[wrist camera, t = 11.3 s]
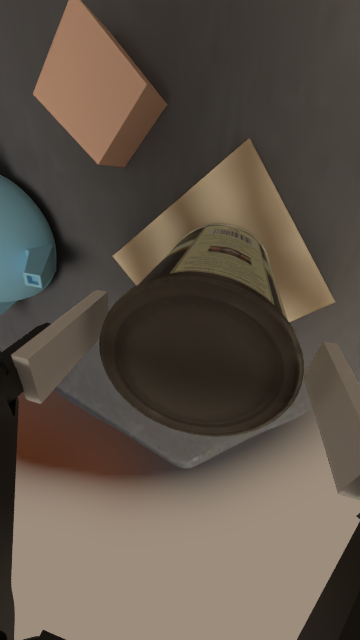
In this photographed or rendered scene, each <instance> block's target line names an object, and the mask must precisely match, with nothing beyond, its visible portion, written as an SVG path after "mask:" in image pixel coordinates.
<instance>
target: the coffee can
mask: <svg viewBox="0 0 360 640" xmlns="http://www.w3.org/2000/svg"><path fill="white" fill-rule="evenodd" d="M99 345H100V355H101V360H102V363H103V366H104V369H105V371H106V373H107V375H108V378H109V379H110V381H111V382H112V384H113V386H114V387H115V388H116V390H117V391H118V392H119V393H120V395H121V396H122V397H123V398H124V399H125V400H126V401H127V402H128V403H129V404H130V405H132V406H133V407H134V408H135V409H137V410H138V411H139V412H141V413H142V414H144V415H145V416H147V417H148V418H150V419H152V420H154V421H156V422H158V423H160V424H162V425H164V426H167V427H169V428H172V429H175V430H178V431H181V432H185V433H189V434H194V435H202V436H217V437H219V436H232V435H239V434H244V433H248V432H251V431H254V430H257V429H260V428H262V427H264V426H266V425H268V424H269V423H271V422H273V421H275V420H276V419H277V418H279V417H280V416H281V415H282V414H283V413H284V412H285V411H286V410H287V409H288V408H289V407H290V406H291V404H292V403H293V402H294V400H295V398H296V397H297V395H298V393H299V390H300V388H301V384H302V380H303V373H304V361H303V354H302V351H301V348H300V345H299V342H298V340H297V337H296V335H295V333H294V331H293V329H292V327H291V325H290V323H289V322H288V319H287V316H286V313H285V310H284V307H283V304H282V300H281V297H280V294H279V291H278V288H277V284H276V281H275V278H274V275H273V272H272V269H271V264H270V259H269V256H268V254H267V251H266V249H265V248H264V246H263V245H262V243H261V242H260V241H259V240H258V239H257V238H256V237H255V236H254V235H253V234H252V233H251V232H249V231H247V230H245V229H243V228H241V227H238V226H236V225H232V224H226V223H213V224H207V225H203V226H201V227H198V228H196V229H194V230H192V231H191V232H189V233H188V234H186V235H185V236H184V237H183V238H182V239H181V240H180V241H179V242H178V244H177V245H176V246H175V247H174V248H173V249H172V250H171V251H170V253H169V254H168V255H167V256H166V257H165V258H164V259H163V260H162V261H161V262H160V263H159V264H158V265H157V266H156V267H155V268H154V269H153V270H152V271H151V272H150V273H149V274H148V275H147V276H146V277H145V278H144V279H143V280H142V281H141V282H140V283H139V284H138V285H136V286H135V287H133V288H132V289H131V290H129V291H128V292H127V293H125V294H124V295H123V296H122V297H121V298H120V299H119V300H118V301H117V302H116V303H115V304H114V305H113V307H112V308H111V309H110V311H109V313H108V314H107V316H106V318H105V321H104V323H103V326H102V330H101V334H100V342H99Z"/></svg>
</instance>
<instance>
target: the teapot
mask: <svg viewBox="0 0 360 640" xmlns="http://www.w3.org/2000/svg"><path fill="white" fill-rule="evenodd" d="M56 271H57V270H56V246H55V241H54V237H53V234H52V231H51V228H50V226H49V224H48V222H47V220H46V218H45V217H44V215H43V213H42V212H41V210H40V209H39V208H38V206H37V205H36V204H35V203H34V202H33V200H32V199H31V198H30V197H29V196H28V195H27V194H26V193H25V192H24V191H23V190H22V189H21V188H19V187H18V186H17V185H16V184H15V183H13V182H12V181H10V180H9V179H7V178H5V177H3V176H2V175H0V316H1V315H2V314H3V313H4V312H5V311H6V310H7V309H9V308H10V307H11V306H12V305H13V304H14V303H15V302H17V300H22V299H25V298H28V297H31V296H34V295H36V294H38V293H40V292H41V291H43V290H44V289H45V288H46V287H47V286H48V285H49V283H50V282H51V280H52V278H53V276H54V273H55V272H56Z"/></svg>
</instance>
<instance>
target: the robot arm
mask: <svg viewBox="0 0 360 640" xmlns="http://www.w3.org/2000/svg"><path fill="white" fill-rule="evenodd" d="M107 314H108V294H107V292H105V291H101V290H95V291H94V292H92V293H91V294H90V295H88V296H87V297H86V298H85V299H83V300H82V301H81V302H79V303H78V304H77V305H75V306H74V307H73V308H72V309H70V310H69V311H68V312H66V313H65V314H64V315H62V316H61V317H60V318H59V319H57V320H56V321H55V322H53V323H52V324H50V323H45V324H43V325H40V326H38V327H36V328H34V329H33V330H32V331H30V332H29V334H26V335H25V336H23V337H22V339H19V340H18V341H17V342H15V343H14V344H13V345H11V346H10V347H8V348H7V349H6V350H4V351H3V352H2V353H1V352H0V640H14V622H15V621H14V620H15V617H14V616H15V614H14V613H15V612H14V600H13V595H12V589H11V569H12V544H13V522H14V498H15V475H16V474H15V472H16V451H17V450H16V449H17V427H18V404H19V401H18V398H17V397H18V396H19V395H20V394H21V393H22V392H23V391H24V394H25V397H26V399H27V400H30V401H33V402H36V403H40V404H41V403H42V402H43V401H44V400H45V399H46V398H47V396H48V395H49V394H50V393H51V392H52V391H53V390H54V389H55V388H56V386H57V385H58V384H59V383H60V382H61V381H62V380H63V379H64V377H65V376H66V375H67V374H68V373H69V372H70V371H71V370H72V368H73V367H74V366H75V365H76V364H77V363H78V362H79V361H80V359H81V358H82V357H83V356H84V355H85V354H86V353H87V352H88V351H89V349H90V348H91V347H92V346H93V345H94V344H95V343H96V342H97V340H98V339H99V338H100V334H101V330H102V326H103V323H104V321H105V318H106V316H107ZM304 379H305V382H306V386H307V389H308V393H309V396H310V399H311V403H312V406H313V410H314V413H315V416H316V420H317V423H318V427H319V430H320V433H321V437H322V440H323V443H324V447H325V450H326V453H327V457H328V461H329V464H330V467H331V471H332V474H333V478H334V481H335V484H336V487H337V491H338V494H340V495H344V496H347V497H350V498H353V499H357V500H360V384H359V383H358V381H357V379H356V377H355V375H354V373H353V372H352V370H351V368H350V366H349V364H348V363H347V361H346V359H345V357H344V355H343V353H342V352H341V350H340V348H339V346H338V345H337V344H333V343H328V342H324V341H323V343H322V345H321V346H320V348H319V350H318V352H317V353H316V355H315V357H314V359H313V360H312V362H311V364H310V366H309V367H308V369H307V371H306V373H305V374H304ZM357 517H358V518H359V519H360V513H359V514H358V515H357ZM24 640H65V639H63V638H61V637H58V636H56V635H54V634H51V633H49V632H47V631H45V630H43V631H42V633H41V635H40V636H35V637H31V638H27V639H24ZM297 640H360V522H359V524H358V526H357V528H356V530H355V532H354V534H353V535H352V537H351V539H350V541H349V543H348V545H347V547H346V549H345V550H344V552H343V554H342V556H341V558H340V560H339V562H338V564H337V565H336V568H335V569H334V571H333V573H332V575H331V577H330V579H329V580H328V582H327V584H326V586H325V588H324V590H323V592H322V594H321V595H320V597H319V599H318V601H317V603H316V605H315V607H314V609H313V611H312V612H311V614H310V616H309V618H308V620H307V622H306V624H305V626H304V627H303V629H302V631H301V633H300V635H299V637H298V639H297Z"/></svg>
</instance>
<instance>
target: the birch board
mask: <svg viewBox="0 0 360 640" xmlns="http://www.w3.org/2000/svg"><path fill="white" fill-rule="evenodd" d="M213 223H226V224H232V225H236V226H238V227H241V228H243V229H245V230H247V231H249V232H251V233H252V234H253V235H254V236H255V237H256V238H257V239H258V240H259V241H260V242H261V243H262V245H263V246H264V248H265V249H266V251H267V254H268V256H269V259H270V264H271V269H272V272H273V275H274V278H275V281H276V284H277V288H278V291H279V294H280V297H281V300H282V304H283V307H284V310H285V313H286V316H287V319H288V322H291V321H293V320H295V319H298V318H300V317H302V316H304V315H307V314H309V313H311V312H314V311H316V310H318V309H320V308H323V307H325V306H327V305H330V304H332V303H334V302H335V301H334V299H333V297H332V295H331V293H330V291H329V289H328V287H327V285H326V283H325V282H324V280H323V278H322V276H321V274H320V272H319V270H318V268H317V266H316V264H315V262H314V261H313V259H312V257H311V255H310V253H309V251H308V249H307V247H306V245H305V243H304V241H303V240H302V238H301V236H300V234H299V232H298V230H297V228H296V226H295V224H294V222H293V220H292V219H291V217H290V215H289V213H288V211H287V209H286V207H285V205H284V203H283V201H282V199H281V198H280V196H279V194H278V192H277V190H276V188H275V186H274V184H273V182H272V180H271V178H270V177H269V175H268V173H267V171H266V169H265V167H264V165H263V163H262V161H261V159H260V157H259V156H258V154H257V152H256V150H255V148H254V146H253V144H252V142H251V140H250V138H249V139H248V140H246V141H245V142H244V143H243V144H242V145H241V146H239V147H238V148H237V149H236V150H235V151H234V152H232V153H231V154H230V155H229V156H228V157H227V158H226V159H224V160H223V161H222V162H221V163H220V164H219V165H217V166H216V167H215V168H214V169H213V170H212V171H211V172H209V173H208V174H207V175H206V176H205V177H204V178H202V179H201V180H200V181H199V182H198V183H197V184H195V185H194V186H193V187H192V188H191V189H190V190H189V191H187V192H186V193H185V194H184V195H183V196H182V197H180V198H179V199H178V200H177V201H176V202H175V203H174V204H172V205H171V206H170V207H169V208H168V209H167V210H165V211H164V212H163V213H162V214H161V215H160V216H158V217H157V218H156V219H155V220H154V221H153V222H152V223H150V224H149V225H148V226H147V227H146V228H145V229H143V230H142V231H141V232H140V233H139V234H138V235H137V236H135V237H134V238H133V239H132V240H131V241H130V242H128V243H127V244H126V245H125V246H124V247H123V248H121V249H120V250H119V251H118V252H117V253H116V254H115V255H113V257H114V259H115V260H116V261H117V262H118V264H119V265H120V266H121V267H122V268H123V270H124V271H125V272H126V273H127V275H128V276H129V277H130V278H131V280H132V281H133V282H134V283H135V284H136V285H138V284H139V283H140V282H141V281H142V280H143V279H144V278H145V277H146V276H147V275H148V274H149V273H150V272H151V271H152V270H153V269H154V268H155V267H156V266H157V265H158V264H159V263H160V262H161V261H162V260H163V259H164V258H165V257H166V256H167V255H168V254H169V253H170V251H171V250H172V249H173V248H174V247H175V246H176V245H177V244H178V242H179V241H180V240H181V239H182V238H183V237H184V236H185V235H186V234H188V233H189V232H191V231H192V230H194V229H196V228H198V227H201V226H203V225H207V224H213Z"/></svg>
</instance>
